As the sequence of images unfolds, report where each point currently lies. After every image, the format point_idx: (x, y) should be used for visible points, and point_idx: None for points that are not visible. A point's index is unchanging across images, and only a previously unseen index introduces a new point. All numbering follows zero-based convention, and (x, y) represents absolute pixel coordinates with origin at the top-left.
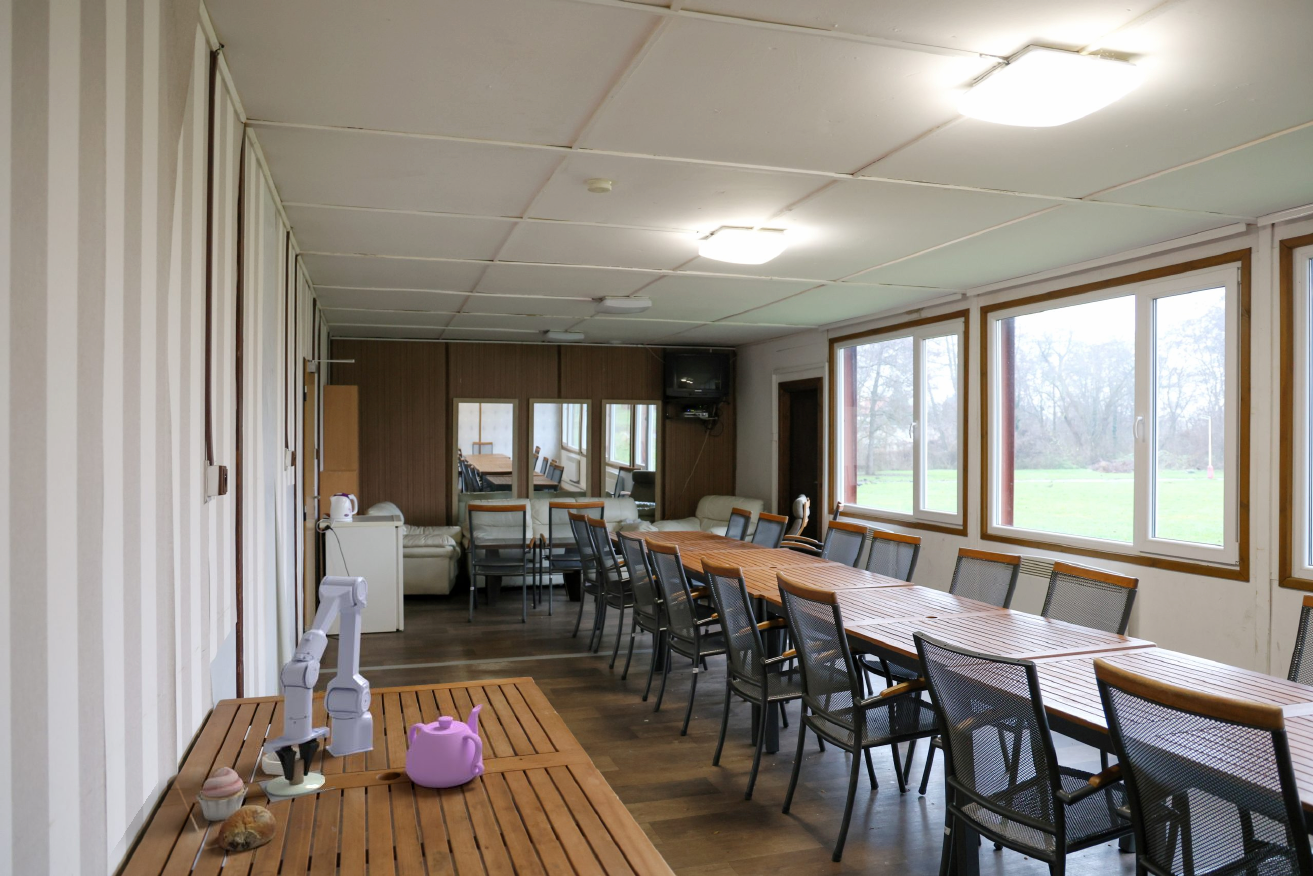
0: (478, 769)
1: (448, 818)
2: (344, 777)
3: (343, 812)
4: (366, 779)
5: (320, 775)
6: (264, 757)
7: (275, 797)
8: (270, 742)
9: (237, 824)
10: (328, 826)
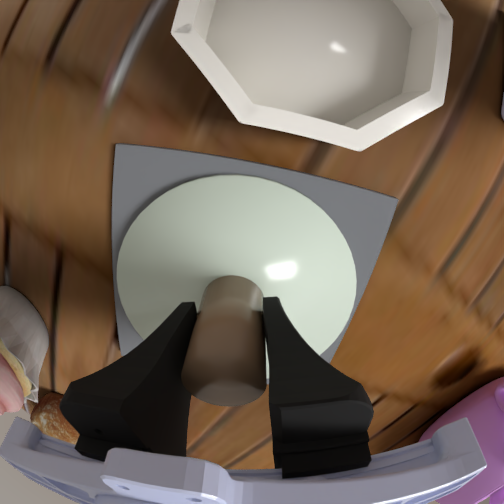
0: None
1: None
2: (406, 316)
3: (252, 453)
4: (420, 362)
5: (348, 298)
6: None
7: (136, 336)
8: (25, 463)
9: None
10: None
